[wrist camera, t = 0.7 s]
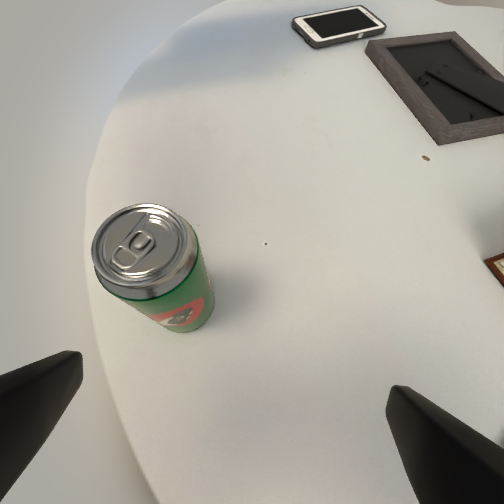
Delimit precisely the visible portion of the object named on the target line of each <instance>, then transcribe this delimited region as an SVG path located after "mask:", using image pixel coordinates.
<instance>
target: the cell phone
mask: <svg viewBox="0 0 504 504" xmlns="http://www.w3.org/2000/svg"><path fill="white" fill-rule="evenodd" d="M292 26H293V28H294V29H295V30H297V32H298V33H299V34H301V35H302V36H303V38H304V39H305V40H306V41H307V42H308V43H309V44H310V45H311V46H312V47H314V48H319V47H324V46H328V45H333V44H337V43H341V42H346V41H350V40H354V39H359V38H363V37H367V36H372V35H376V34H380V33H383V32H384V31H385V29H386V27H387V26H386V24H385V23H384V22H383V21H381V20H380V19H379V18H378V17H376V16H375V15H374V14H373V13H372V12H370V11H369V10H368V9H367V8H365V7H364V6H362V5H357V6H351V7H346V8H341V9H336V10H330V11H325V12H320V13H315V14H310V15H304V16H300V17H295V18H293V21H292Z"/></svg>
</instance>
